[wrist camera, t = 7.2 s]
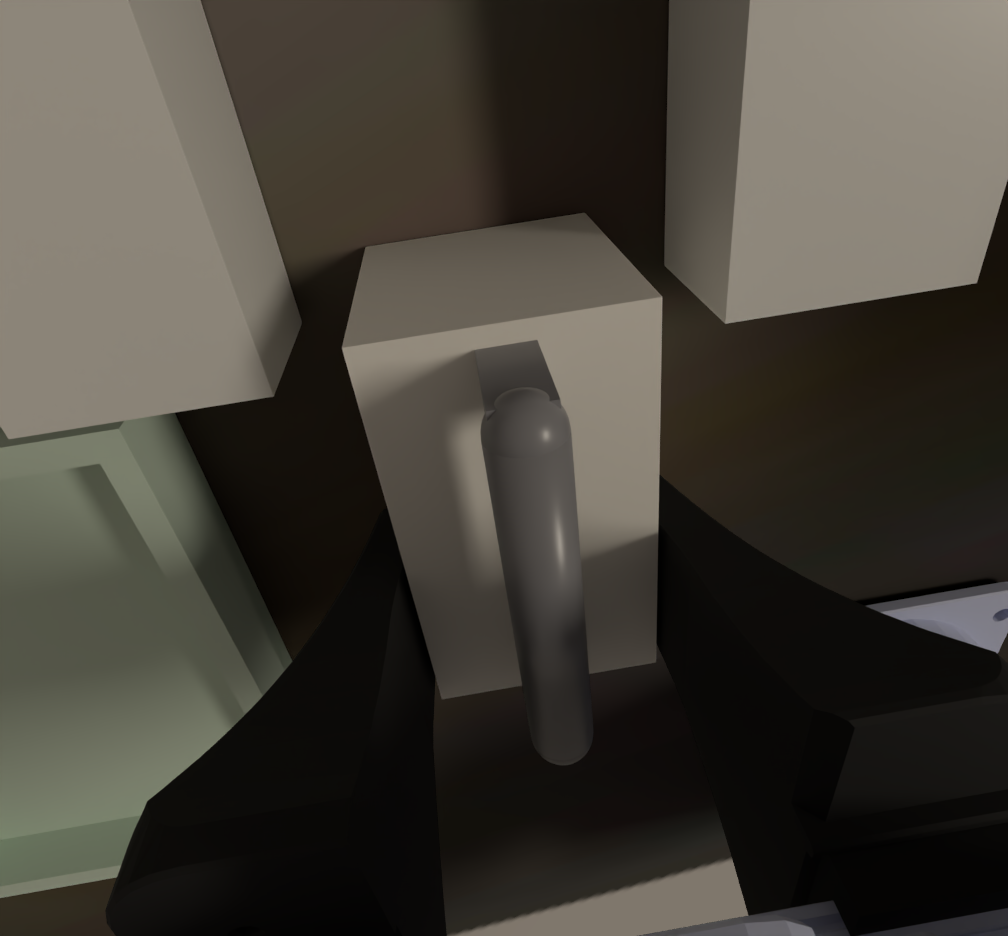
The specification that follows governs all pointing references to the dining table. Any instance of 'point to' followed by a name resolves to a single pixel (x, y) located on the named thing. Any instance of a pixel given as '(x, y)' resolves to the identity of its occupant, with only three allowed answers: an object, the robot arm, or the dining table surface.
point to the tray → (113, 640)
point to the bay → (688, 198)
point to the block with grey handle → (518, 456)
